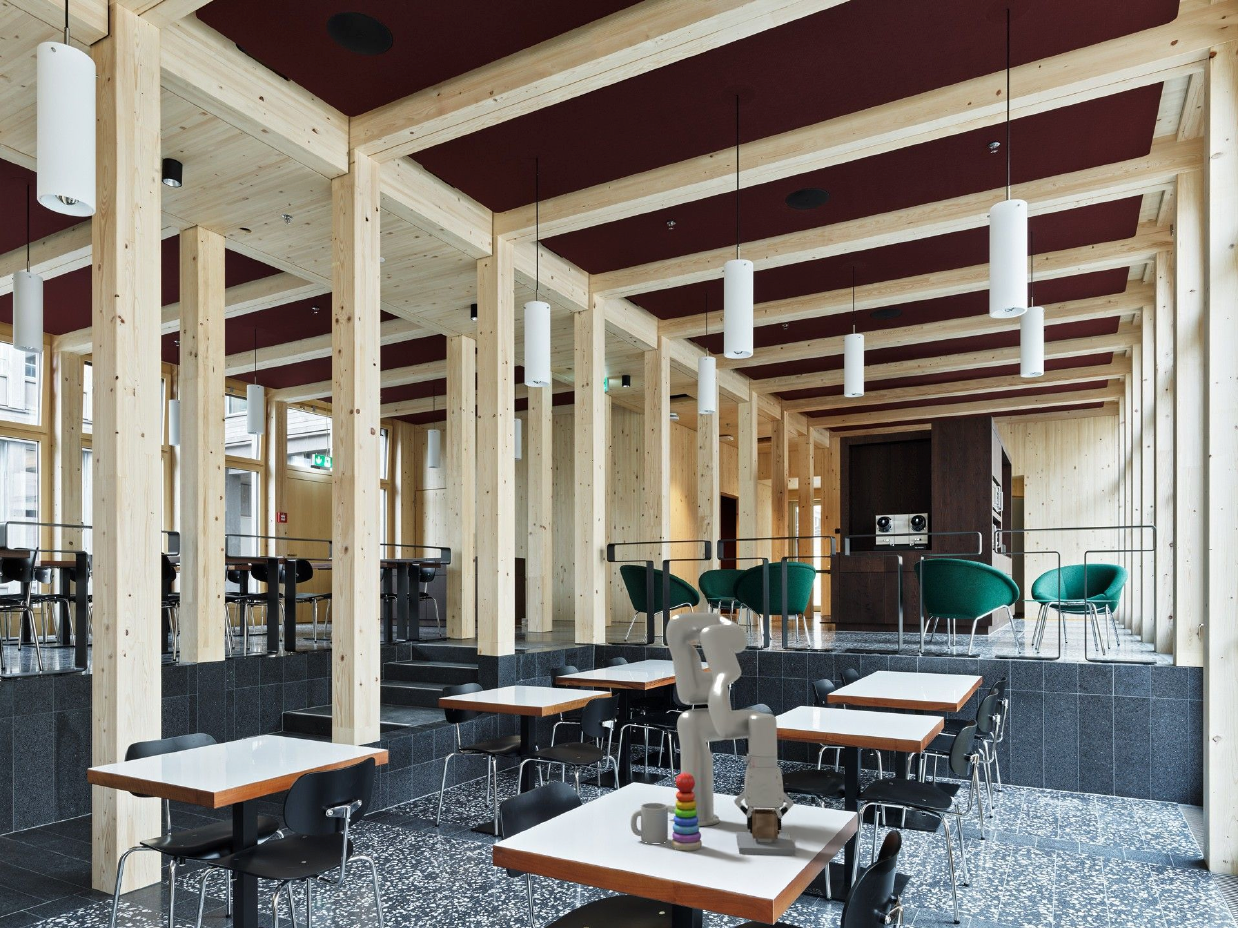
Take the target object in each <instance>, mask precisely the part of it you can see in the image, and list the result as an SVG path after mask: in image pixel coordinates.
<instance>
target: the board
mask: <svg viewBox="0 0 1238 928" xmlns="http://www.w3.org/2000/svg"><path fill="white" fill-rule="evenodd" d="M735 833H736V834H735V836H736V837H735V838H736V843H737V846H738V847H737V848H738V853H739V854H740V855H762V856H763V855H764V856H765V855H766V856H767V855H768V856H793V855H794V856H796V849H795V846H794V844H793V842H792V839H791V837H790V834H789V833H788V832H787V833H786V832H785V833H784V832H783V833H782V832H779V834H778V839H754V838H753V837H752V834H750V831H749V832H748V831H746V832H744V831H736V832H735Z"/></svg>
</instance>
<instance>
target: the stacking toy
mask: <svg viewBox="0 0 1238 928" xmlns="http://www.w3.org/2000/svg"><path fill="white" fill-rule="evenodd" d="M675 786H676V788H677V790H678V791H677V793H676V794H675V798H676V801H675V806H676V807H677V808H675V811H674V812H675V813H674V817H673V822H674V823H673V824H672V831H673V832H672V839H671V847H672V848H674V849H675V848H676V849H675V850H678V849H679V850H678V851H683V850H691V851H696V850H699V849H701V847H702V846H703V845H702V844H703V843H702V840H701V838H702V833H701V832H700V831H699V830H700V826H699V825H698V824H697V823H698V817H697V816H696V815H697V809H696V808H695V807H696V805H697V804H696V801H695V800H694V798H695V794H694V792H692V790H693V788H694V786H695V780H694V778H693V776H692V775H691V774H689V773H681V772H680V774H678V775H677V776H676V779H675Z"/></svg>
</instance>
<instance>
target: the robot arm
mask: <svg viewBox="0 0 1238 928" xmlns="http://www.w3.org/2000/svg"><path fill="white" fill-rule="evenodd" d="M665 631H666V632H665V637H666V643H667V645H668V646H667V647H668V649H669V653H670V655H671V658H672V663H673V671H674V679H675V685H676V692H677V696H678V699H679V700H680V703H682V704H684V705H688V706H691V705H695V706H696V705H707V706H708V707H707V708H694V709H688V710H685V711H683V712H682V713H681V714H680V715H679V717H678V719H677V723H676V729H677V734H678V739H679V748H680V750H679V751H680V774H681V773H689V774H691V775H692V776H693V778H694V780H695V786H694V788H693V790H692V792H694V794H695V798H694V800H695V801H696V804H697V805H696V807H695V808H696V809H697V815H696V816H697V817H698V823H697V824H698V825H699V827H704V826H705V827H708V826H713V825H717V824H718V823H719V822H720V818H719V816H718V815H717V814H715V812H714V810H715V809H714V808H715V807H714V758H713V755H712V752H711V750H710V749H709V747H708V745H707V743H709V742H719V741H724V740H728V741H730V740H738V739H741V740H742V739H748V755H746V756H743V758H742V759H743V763H747V764H748V765H747V766H746V768H745V773H744V774H745V775H744V785H743V786H744V788H743V791H742V792H740V794H739V795H738V796H737V797H736V798H735V799H734V800H733V802H734V804H735V805H736V806H737V807H738V808H739V809H740V811H741V812H742V813H743V814H744V815H745V817H746V829H747V830H749V832H750V834H752V812H753V809H754V808H756V809H775V811H776V813H777V822H778V834H779V833H780V831H782V818H783V817H784V816H785V815H786V813H788V812H789V810H790V809H791V808H792V807H793V806H794V801H793V800H792V799H791V798H790V797H789V796H788V795H786V793H785V792H784V784H783V775H782V769H781V767H780V766H778V736H777V735H778V732H777V727H778V726H777V718H776V717H775V715H774V714H772V713H763V712H761V711H759V710H756V709H737V710H732V706H731V705H732V704H731V698H730V692H729V691H730V690H729V688H728V686H729V685H731V684H732V683H735V681H737V680H738V679H739V678H740V677H741V675H742V668H741V666H740V664H739V661H738V659H737V655H736V654H740V653H742V652H744V650H745V649H746V648H747V644H748V639H747V635H746V633H745V631H744V629H743V628H742V627H741V626H740V625H739V624H737V623H736V622H734V621H733V620H730V619H729V618H727V617H726V616H723V615H722V614H720V613H717V612H683V613H677V614H674V615H673V616H672V617H671V618H670V619H669V620H668V622H667V625H666V629H665ZM694 641H695V642H699V643H700V646H701V648H702V652H703V655H704V657H705V660H706V663H707V666H708V668H709V671H704V670H703V669H704V668H703V666H702V659H701V656H700V654H699V652H698V650H697V649H696V647H695V646H694V645H693V644H692V643H691V642H694ZM743 800H744V803H745V805H746V806H747V807H746V806H745V805H744V804H743V803H742V801H743ZM785 802H786V803H785ZM784 803H785V805H784ZM666 805H667V806H668V813H669V814H674V815H675V812H674V811H675V808H677V807H676V805H668V804H666Z"/></svg>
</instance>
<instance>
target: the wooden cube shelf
mask: <svg viewBox="0 0 1238 928" xmlns="http://www.w3.org/2000/svg"><path fill="white" fill-rule="evenodd" d="M752 837H753V838H754V839H778V822H777V813H776V811H775V808H754V809H753V812H752Z"/></svg>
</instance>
